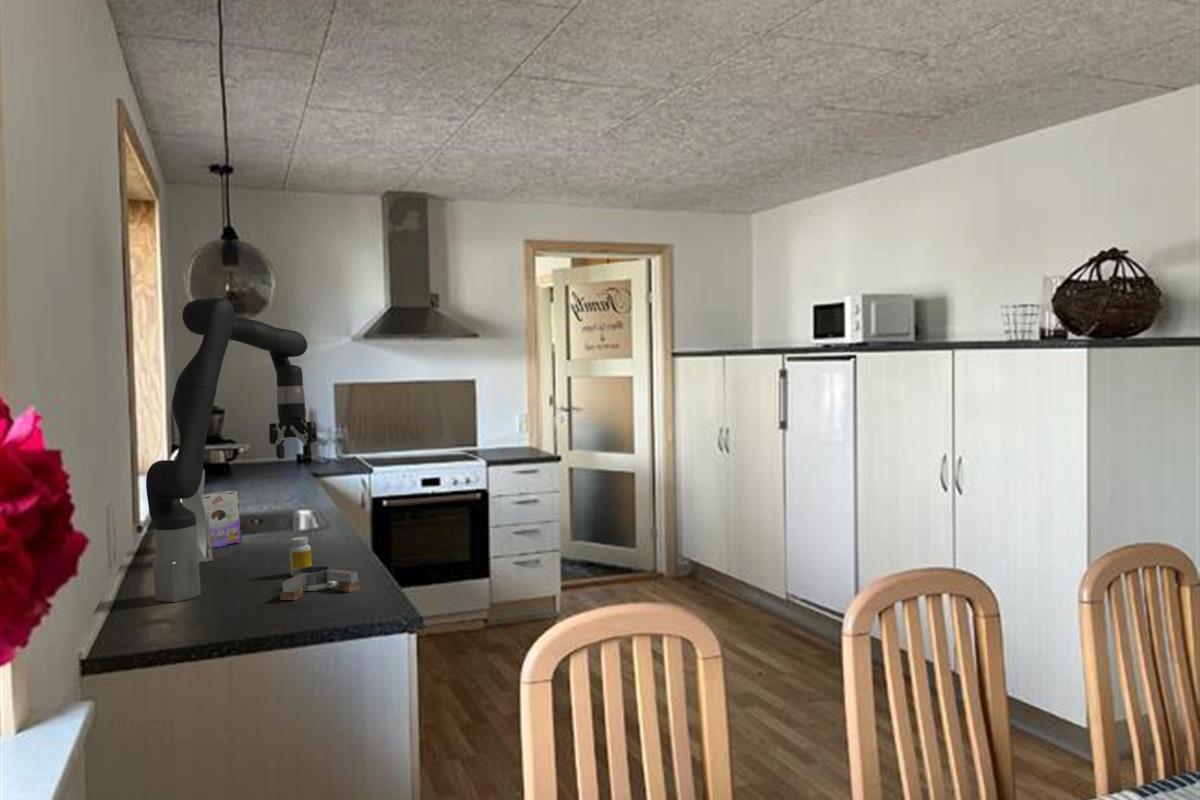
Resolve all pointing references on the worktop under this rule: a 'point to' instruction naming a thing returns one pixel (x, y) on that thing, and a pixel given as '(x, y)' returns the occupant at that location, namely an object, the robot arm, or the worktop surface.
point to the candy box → (223, 517)
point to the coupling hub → (316, 577)
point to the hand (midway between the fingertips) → (294, 458)
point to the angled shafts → (331, 575)
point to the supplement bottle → (300, 554)
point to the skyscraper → (201, 523)
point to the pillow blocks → (340, 587)
